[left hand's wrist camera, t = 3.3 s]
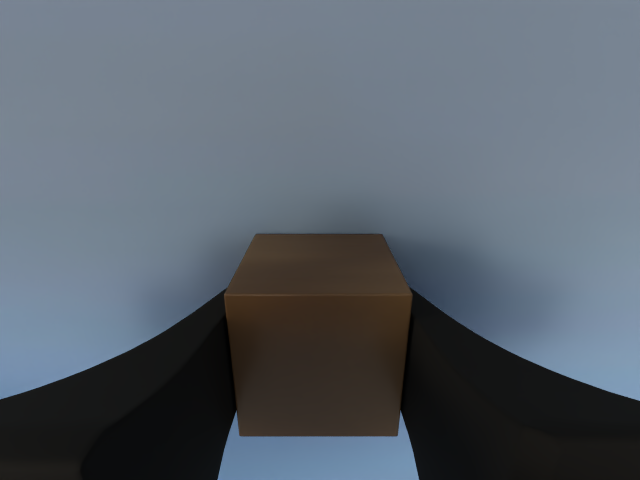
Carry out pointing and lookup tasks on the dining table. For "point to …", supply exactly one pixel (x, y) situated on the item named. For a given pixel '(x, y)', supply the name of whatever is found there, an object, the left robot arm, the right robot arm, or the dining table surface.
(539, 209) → the dining table surface
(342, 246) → the block
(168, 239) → the dining table surface
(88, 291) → the dining table surface
